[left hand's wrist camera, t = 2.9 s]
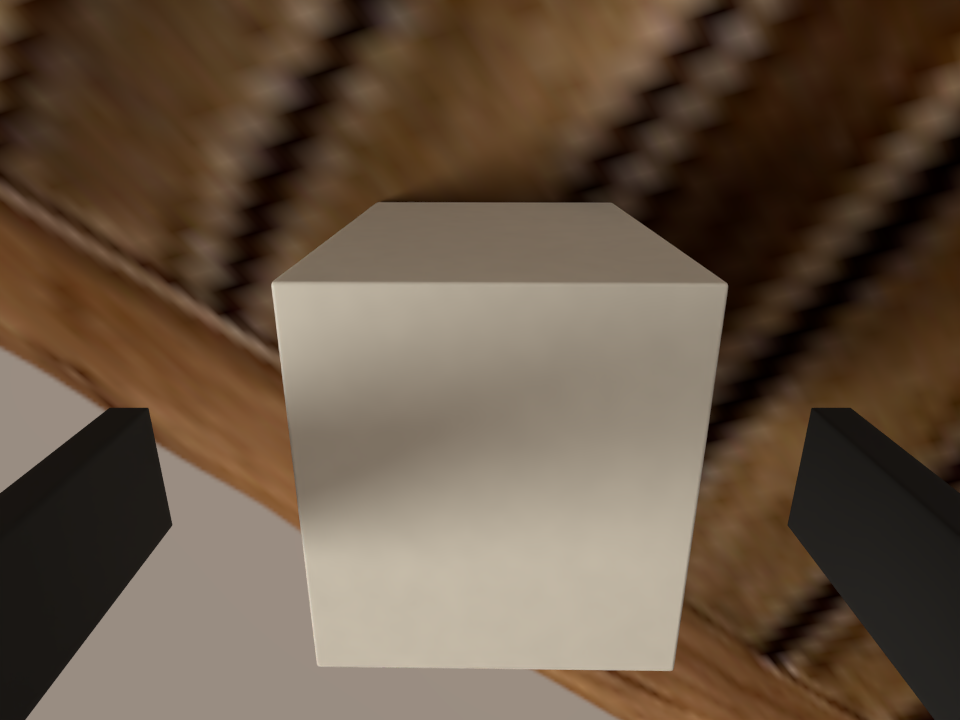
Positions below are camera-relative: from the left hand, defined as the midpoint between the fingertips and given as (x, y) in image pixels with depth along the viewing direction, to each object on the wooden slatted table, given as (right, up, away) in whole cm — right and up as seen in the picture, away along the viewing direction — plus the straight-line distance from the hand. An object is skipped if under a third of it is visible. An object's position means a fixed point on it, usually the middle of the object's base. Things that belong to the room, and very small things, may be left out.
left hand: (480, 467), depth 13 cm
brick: (0, +3, +9) cm, 9 cm away
